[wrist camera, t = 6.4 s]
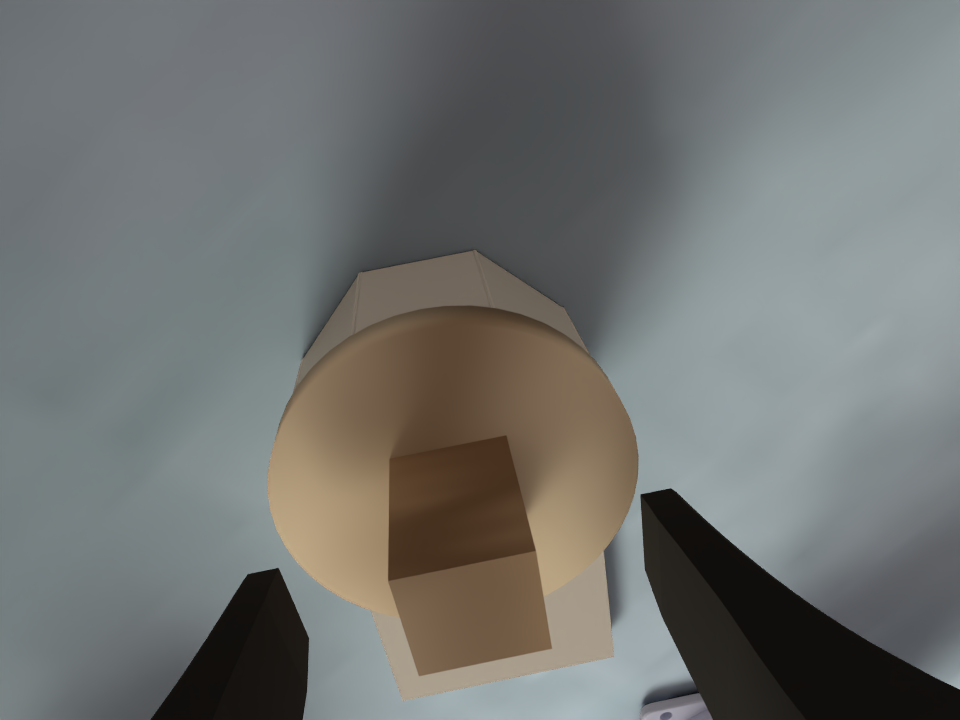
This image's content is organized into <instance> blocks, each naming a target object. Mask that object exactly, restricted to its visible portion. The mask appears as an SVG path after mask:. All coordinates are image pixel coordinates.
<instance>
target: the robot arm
mask: <svg viewBox="0 0 960 720" xmlns="http://www.w3.org/2000/svg"><path fill="white" fill-rule="evenodd" d="M641 512H642V529H643V546H644V563H645V571H646V574H647V576H648V579H649V582H650V585H651V588H652V591H653V593H654V596H655V599H656V602H657V604H658V607H659V610H660V612H661V615H662V618H663V620H664V622H665V624H666V626H667V628H668V630H669V632H670V634H671V636H672V638H673V640H674V642H675V644H676V646H677V648H678V651H679V653H680V655H681V657H682V659H683V661H684V663H685V665H686V667H687V669H688V671H689V673H690V675H691V677H692V679H693V681H694V683H695V685H696V687H697V689H698V691H699V693H697V694H692V695H687V696H682V697H678V698H673V699H668V700H663V701H659V702H654V703H650V704H647V705H645V706H644V707H643V708H642V709H641V711H640V720H960V690H959V689H957V688H955V687H953V686H951V685H949V684H947V683H945V682H943V681H941V680H939V679H937V678H935V677H933V676H931V675H929V674H927V673H925V672H923V671H921V670H920V669H918V668H916V667H914V666H912V665H910V664H909V663H907V662H905V661H903V660H901V659H899V658H898V657H896V656H894V655H892V654H890V653H888V652H887V651H885V650H883V649H881V648H879V647H877V646H876V645H874V644H872V643H870V642H869V641H867V640H866V639H864V638H862V637H861V636H859V635H857V634H856V633H854V632H852V631H851V630H849V629H847V628H846V627H844V626H843V625H841V624H840V623H838V622H837V621H835V620H834V619H832V618H830V617H829V616H827V615H826V614H824V613H823V612H821V611H820V610H818V609H817V608H815V607H814V606H813V605H811V604H810V603H808V602H807V601H805V600H804V599H803V598H801V597H800V596H798V595H797V594H796V593H794V592H793V591H792V590H790V589H789V588H787V587H786V586H785V585H783V584H782V583H781V582H779V581H778V580H777V579H775V578H774V577H773V576H772V575H770V574H769V573H768V572H766V571H765V570H764V569H763V568H761V567H760V566H759V565H758V564H756V563H755V562H754V561H753V560H752V559H750V558H749V557H748V556H747V555H745V554H744V553H743V552H742V551H741V550H739V549H738V548H737V547H736V546H735V545H733V544H732V543H731V542H730V541H729V540H728V539H726V538H725V537H724V536H723V535H722V534H721V533H720V532H718V531H717V530H716V529H715V528H714V527H713V526H712V525H711V524H710V523H708V522H707V521H706V520H705V519H704V518H703V517H702V516H701V515H700V514H699V513H698V512H697V511H696V510H694V509H693V508H692V507H691V506H690V505H689V504H688V503H687V502H686V501H685V500H684V499H683V498H682V497H681V496H680V495H679V494H678V493H677V492H675V491H674V490H672V489H671V488H670V489H665V490H661V491H656V492H651V493H646V494H641ZM308 651H309V637H308V635H307V632H306V630H305V628H304V626H303V623H302V621H301V619H300V616H299V614H298V612H297V609H296V607H295V605H294V602H293V600H292V598H291V595H290V593H289V591H288V589H287V586H286V584H285V582H284V579H283V577H282V575H281V572H280V570H279V568H276V569H272V570H267V571H262V572H257V573H252V574H248V575H247V576H246V578H245V579H244V580H243V582H242V584H241V585H240V587H239V588H238V590H237V591H236V593H235V595H234V596H233V598H232V599H231V601H230V602H229V604H228V606H227V607H226V609H225V610H224V612H223V614H222V615H221V617H220V618H219V620H218V622H217V623H216V625H215V626H214V628H213V629H212V631H211V633H210V634H209V636H208V637H207V639H206V640H205V642H204V643H203V645H202V646H201V648H200V649H199V651H198V652H197V654H196V656H195V657H194V659H193V660H192V662H191V663H190V665H189V666H188V668H187V669H186V671H185V672H184V674H183V675H182V677H181V678H180V679H179V681H178V682H177V684H176V685H175V687H174V688H173V689H172V691H171V692H170V693H169V695H168V696H167V698H166V699H165V700H164V702H163V703H162V705H161V706H160V707H159V709H158V710H157V711H156V713H155V714H154V716H153V717H152V718H151V720H303V713H304V707H305V700H306V693H307V679H308Z"/></svg>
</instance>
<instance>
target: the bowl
mask: <svg viewBox="0 0 960 720" xmlns="http://www.w3.org/2000/svg"><path fill="white" fill-rule="evenodd" d="M466 305H472V306H481V307H490V308H498V309H502V310H506V311H511V312H515V313H519V314H522V315H525V316H528V317H530V318H533V319H535V320H538V321H541V322H543V323H545V324H547V325H549V326H551V327H553V328H554V329H556V330H558V331H560V332H562V333H564V334H565V335H566V336H568V337H569V338H570V339H572V340H573V341H574V342H576V343H577V344H578V345H580V346H581V347H582V348H583V349H584V350H585V351H586V352H587V353H588V354H589V352H588V350H587V348H586V346H585V345H584V343H583V341H582V339H581V337H580V336H579V334H578V332H577V330H576V328H575V326H574V325H573V323H572V321H571V319H570V317H569V316H568V314H567V312H566V310H565V309H564V307H561V306H559V305H558V304H556V303H555V302H553V301H552V300H550V299H549V298H547V297H546V296H544V295H542V294H541V293H539V292H538V291H536V290H535V289H533V288H532V287H530V286H529V285H527V284H526V283H524V282H523V281H521V280H519V279H518V278H516V277H515V276H513V275H512V274H510V273H509V272H507V271H506V270H504V269H503V268H501V267H500V266H498V265H496V264H495V263H493V262H492V261H490V260H489V259H487V258H486V257H484V256H483V255H481V254H480V253H478V252H477V250H474V249H473V251H469V252H464V253H459V254H453V255H448V256H443V257H438V258H433V259H428V260H423V261H418V262H413V263H407V264H402V265H397V266H392V267H387V268H382V269H377V270H372V271H367V272H360V273H358V276H357V278H356V279H355V281H354V282H353V284H352V286H351V287H350V289H349V290H348V292H347V293H346V295H345V296H344V298H343V299H342V301H341V302H340V304H339V305H338V307H337V308H336V310H335V311H334V313H333V314H332V316H331V317H330V319H329V320H328V322H327V323H326V325H325V326H324V328H323V330H322V331H321V333H320V334H319V336H318V337H317V339H316V340H315V342H314V343H313V345H312V346H311V348H310V349H309V351H308V352H307V354H306V355H305V357H304V358H303V359H302V360H301V364H300V368H299V372H298V375H297V379H296V383H295V387H294V391H295V389H296V387H297V386H298V384H299V383H300V382H301V381H302V379H303V378H304V377H305V375H306V374H307V373H308V372H309V370H310V369H311V368H312V367H313V366H314V365H315V364H316V363H317V362H318V361H319V360H320V359H321V358H322V357H323V356H324V355H325V354H326V353H327V352H329V351H330V350H331V349H333V348H334V347H335V346H337V345H338V344H340V343H341V342H342V341H344V340H345V339H346V338H348V337H350V336H351V335H353V334H355V333H357V332H359V331H361V330H362V329H364V328H366V327H368V326H370V325H372V324H375V323H377V322H380V321H382V320H385V319H387V318H390V317H392V316H395V315H399V314H403V313H407V312H411V311H415V310H418V309H425V308H432V307H440V306H466ZM589 355H590V354H589ZM590 356H591V355H590ZM294 391H293V393H294Z"/></svg>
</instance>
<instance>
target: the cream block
mask: <svg viewBox="0 0 960 720" xmlns="http://www.w3.org/2000/svg"><path fill="white" fill-rule="evenodd" d="M544 602H545V608H546V614H547V620H548V626H549V632H550V639H551V645H552V649H549V650H544V651H539V652H534V653H529V654H524V655H520V656H515V657H510V658H505V659H500V660H495V661H491V662H486V663H481V664H476V665H471V666H467V667H462V668H457V669H452V670H447V671H442V672H438V673H433V674H428V675H423V676H419V675H418V672H417V669H416V666H415V663H414V660H413V657H412V654H411V650H410V647H409V644H408V641H407V638H406V635H405V632H404V629H403V626H402V623H401V620H400V618H399V617H394V616H390V615H385V614H381V613H378V612H375V611H372V610H371V613H372V616H373V618H374V621H375V624H376V627H377V630H378V632H379V635H380V638H381V641H382V644H383V647H384V649H385V652H386V655H387V658H388V661H389V663H390V666H391V669H392V672H393V675H394V677H395V680H396V683H397V686H398V689H399V692H400V694H401V697H402V700H403V701H405V700H410V699H414V698H419V697H424V696H429V695H434V694H438V693H443V692H448V691H453V690H457V689H462V688H467V687H472V686H477V685H481V684H486V683H491V682H496V681H500V680H505V679H510V678H515V677H520V676H524V675H529V674H534V673H539V672H544V671H548V670H553V669H558V668H563V667H567V666H572V665H577V664H582V663H587V662H591V661H596V660H601V659H606V658H611V657H614V650H613V640H612V630H611V620H610V610H609V600H608V590H607V579H606V569H605V559H604V551H603V552H602V553H601V554H600V555H599V556H598V557H597V559H596V560H595V561H594V562H592V563H591V564H590V565H589V566H588V567H587V568H586V569H585V570H584V571H582V572H581V573H580V574H579V575H577V576H576V577H575V578H573V579H572V580H571V581H569V582H568V583H566V584H565V585H564V586H562V587H560V588H558V589H557V590H555V591H553V592H552V593H550V594H548V595H546V596H544Z"/></svg>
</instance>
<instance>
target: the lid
mask: <svg viewBox="0 0 960 720" xmlns="http://www.w3.org/2000/svg"><path fill="white" fill-rule="evenodd" d="M637 477H638V450H637V442H636V436H635V433H634V430H633V427H632V424H631V420H630V418H629V416H628V414H627V412H626V410H625V408H624V406H623V404H622V402H621V400H620V398H619V397H618V395H617V393H616V391H615V389H614V388H613V386H612V384H611V382H610V381H609V379H608V377H607V376H606V374H605V373H604V372H603V370H602V369H601V368H600V366H599V365H598V364H597V362H596V361H595V360H594V359H593V358H592V357H591V356H590V355H589V354H588V353H587V352H586V351H585V350H584V349H583V348H582V347H581V346H580V345H578V344H577V343H576V342H574V341H573V340H572V339H570V338H569V337H568V336H566V335H565V334H564V333H562V332H560V331H558V330H556V329H554V328H553V327H551V326H549V325H547V324H545V323H543V322H541V321H538V320H535V319H533V318H530V317H528V316H525V315H522V314H519V313H515V312H511V311H506V310H502V309H498V308H490V307H481V306H472V305H466V306H440V307H432V308H425V309H418V310H415V311H411V312H407V313H403V314H399V315H395V316H392V317H390V318H387V319H385V320H382V321H380V322H377V323H375V324H372V325H370V326H368V327H366V328H364V329H362V330H361V331H359V332H357V333H355V334H353V335H351V336H350V337H348V338H346V339H345V340H344V341H342V342H341V343H340V344H338V345H337V346H335V347H334V348H333V349H331V350H330V351H329V352H327V353H326V354H325V355H324V356H323V357H322V358H321V359H320V360H319V361H318V362H317V363H316V364H315V365H314V366H313V367H312V368H311V369H310V370H309V372H308V373H307V374H306V375H305V377H304V378H303V379H302V381H301V382H300V383H299V384H298V386H297V387H296V389H295V391H294V393H293V394H292V396H291V398H290V400H289V401H288V403H287V405H286V408H285V410H284V413H283V416H282V418H281V421H280V424H279V427H278V431H277V435H276V438H275V442H274V446H273V449H272V454H271V459H270V464H269V469H268V497H269V504H270V511H271V514H272V517H273V520H274V523H275V526H276V529H277V531H278V533H279V535H280V537H281V539H282V541H283V543H284V545H285V547H286V548H287V549H288V551H289V552H290V553H291V555H292V556H293V558H294V559H295V560H296V562H297V563H298V564H299V565H300V566H301V567H302V568H303V569H304V570H305V571H306V572H307V573H308V574H309V575H310V576H311V577H312V578H313V579H315V580H316V581H317V582H319V583H320V584H321V585H322V586H324V587H325V588H326V589H328V590H330V591H331V592H333V593H335V594H336V595H338V596H340V597H341V598H343V599H345V600H347V601H349V602H351V603H354V604H356V605H358V606H360V607H363V608H366V609H369V610H372V611H375V612H378V613H381V614H385V615H390V616H394V617H399V618H400V620H401V623H402V626H403V629H404V632H405V635H406V638H407V641H408V644H409V647H410V650H411V654H412V657H413V660H414V663H415V666H416V669H417V672H418V675H419V676H423V675H428V674H433V673H438V672H442V671H447V670H452V669H457V668H462V667H467V666H471V665H476V664H481V663H486V662H491V661H495V660H500V659H505V658H510V657H515V656H520V655H524V654H529V653H534V652H539V651H544V650H549V649H552V645H551V639H550V632H549V626H548V620H547V614H546V608H545V602H544V596H546V595H548V594H550V593H552V592H553V591H555V590H557V589H558V588H560V587H562V586H564V585H565V584H566V583H568V582H569V581H571V580H572V579H573V578H575V577H576V576H577V575H579V574H580V573H581V572H582V571H584V570H585V569H586V568H587V567H588V566H589V565H590V564H591V563H592V562H594V561H595V560H596V559H597V557H598V556H599V555H600V554H601V553H602V552H603V551H604V549H605V548H606V547H607V546H608V545H609V544H610V542H611V541H612V539H613V538H614V536H615V535H616V533H617V532H618V530H619V529H620V527H621V525H622V523H623V521H624V519H625V517H626V515H627V513H628V511H629V508H630V505H631V502H632V500H633V497H634V494H635V488H636V483H637Z"/></svg>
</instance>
